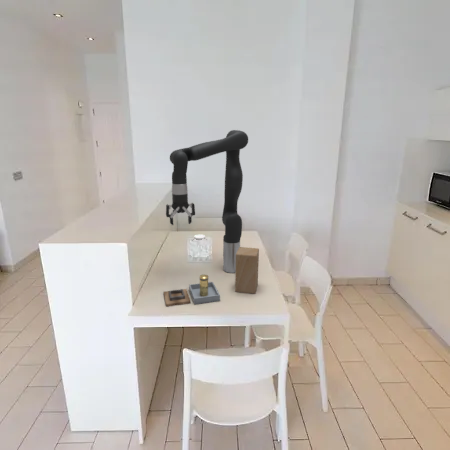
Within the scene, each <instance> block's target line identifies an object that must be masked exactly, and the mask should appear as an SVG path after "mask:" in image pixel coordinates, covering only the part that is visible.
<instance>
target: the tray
mask: <svg viewBox="0 0 450 450" xmlns="http://www.w3.org/2000/svg"><path fill="white" fill-rule="evenodd" d="M188 289H189V293H190V296H191V299H192V302H193V303H194V305H201V304H208V303H215V302H216V303H217V302H221V294H220V293H219V290H218V289H217V287H216V285H215V283H214V281H208V295H207V296H205V297H203V296H200V282H199V283H193V284H191V283H190V284H188Z"/></svg>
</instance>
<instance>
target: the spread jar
mask: <svg viewBox="0 0 450 450" xmlns="http://www.w3.org/2000/svg"><path fill="white" fill-rule="evenodd" d="M194 239H196V240H202V239H206V235H205V234H202V233H201V234H199V233H198V234H195V235H194V236H193V240H194Z"/></svg>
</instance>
